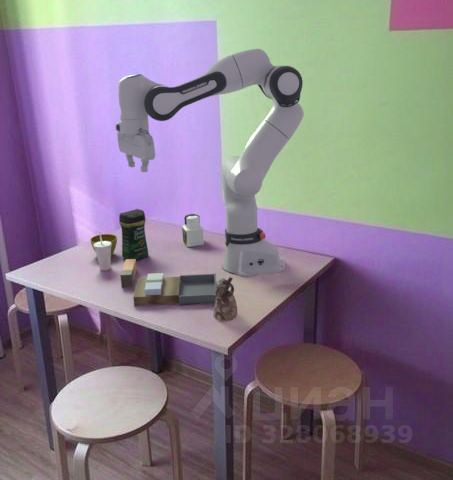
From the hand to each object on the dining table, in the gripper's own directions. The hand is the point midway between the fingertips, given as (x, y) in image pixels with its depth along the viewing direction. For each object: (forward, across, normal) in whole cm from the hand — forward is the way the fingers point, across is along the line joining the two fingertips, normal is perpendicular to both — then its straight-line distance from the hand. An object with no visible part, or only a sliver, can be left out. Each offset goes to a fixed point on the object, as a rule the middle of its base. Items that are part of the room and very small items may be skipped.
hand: (137, 169), depth 173 cm
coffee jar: (+38, +16, -4) cm, 41 cm away
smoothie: (+38, +13, +10) cm, 41 cm away
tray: (+37, -25, -6) cm, 45 cm away
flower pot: (+38, +25, +5) cm, 46 cm away
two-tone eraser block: (+38, -1, +6) cm, 38 cm away
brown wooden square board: (+38, -19, +5) cm, 42 cm away
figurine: (+37, -43, -5) cm, 57 cm away
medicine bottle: (+37, +15, -29) cm, 50 cm away
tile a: (+34, -15, +4) cm, 38 cm away
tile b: (+34, -21, +7) cm, 41 cm away
